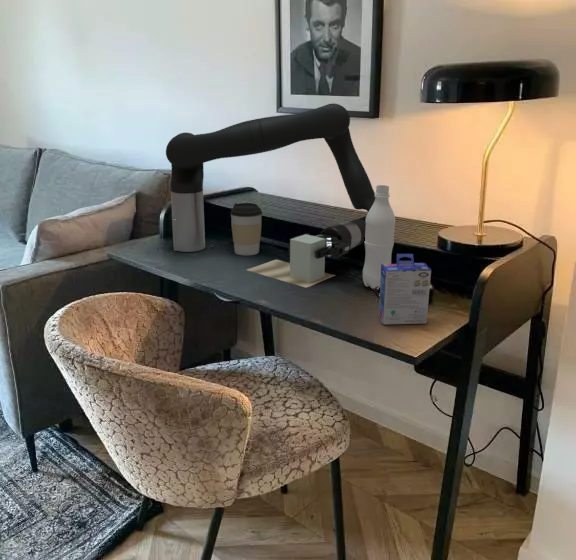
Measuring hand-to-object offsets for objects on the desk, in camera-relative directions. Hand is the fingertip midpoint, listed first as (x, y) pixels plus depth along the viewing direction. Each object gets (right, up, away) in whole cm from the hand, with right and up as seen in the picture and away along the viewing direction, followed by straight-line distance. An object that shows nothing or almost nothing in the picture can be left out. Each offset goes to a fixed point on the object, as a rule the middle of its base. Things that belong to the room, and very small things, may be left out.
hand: (302, 251), depth 149 cm
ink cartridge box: (+21, -16, -18) cm, 32 cm away
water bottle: (+18, -9, +2) cm, 20 cm away
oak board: (-3, -6, +8) cm, 10 cm away
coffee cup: (-15, 0, +25) cm, 29 cm away
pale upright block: (+1, -6, +4) cm, 8 cm away
